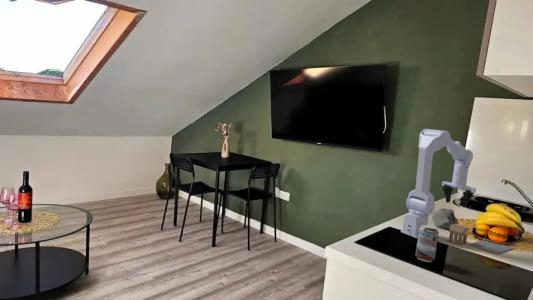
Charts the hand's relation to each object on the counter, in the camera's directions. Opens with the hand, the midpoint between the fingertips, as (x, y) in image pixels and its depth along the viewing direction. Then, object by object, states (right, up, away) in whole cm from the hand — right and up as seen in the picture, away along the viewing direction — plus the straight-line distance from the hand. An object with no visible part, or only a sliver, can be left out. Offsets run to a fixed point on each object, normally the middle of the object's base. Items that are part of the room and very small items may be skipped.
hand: (455, 204), depth 164 cm
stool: (-10, -12, -20) cm, 26 cm away
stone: (-7, -10, -3) cm, 13 cm away
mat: (+1, -13, -23) cm, 27 cm away
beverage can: (-32, -13, -41) cm, 54 cm away
